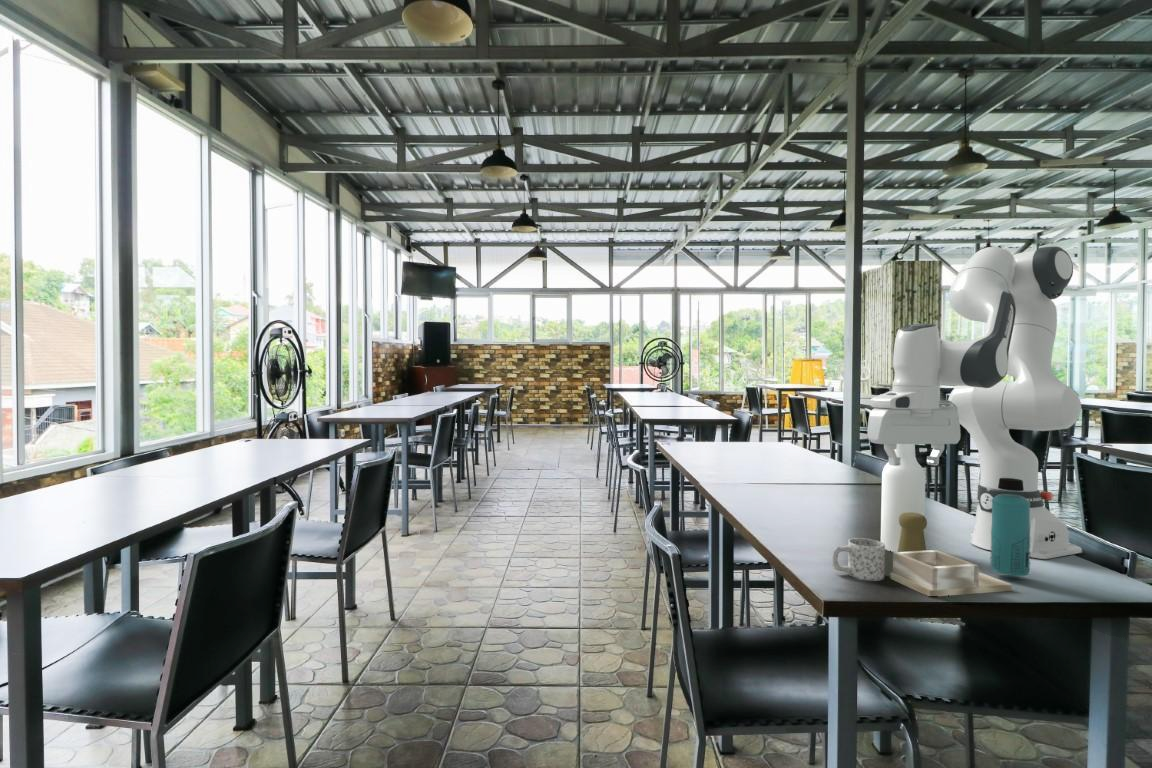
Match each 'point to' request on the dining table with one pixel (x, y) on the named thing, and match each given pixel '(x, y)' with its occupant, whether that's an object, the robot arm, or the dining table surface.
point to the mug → (862, 559)
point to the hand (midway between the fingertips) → (913, 465)
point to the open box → (942, 574)
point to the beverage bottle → (1010, 530)
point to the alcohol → (900, 494)
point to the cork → (912, 532)
